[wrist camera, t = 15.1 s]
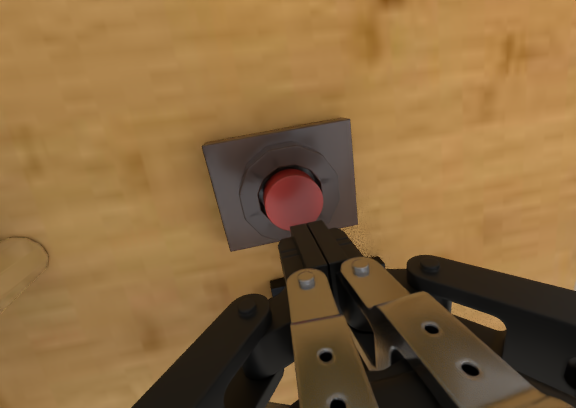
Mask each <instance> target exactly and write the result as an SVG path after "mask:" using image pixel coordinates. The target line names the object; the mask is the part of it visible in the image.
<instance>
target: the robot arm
mask: <svg viewBox="0 0 576 408" xmlns="http://www.w3.org/2000/svg"><path fill="white" fill-rule="evenodd" d="M290 232H291V237H289V238H284V239H281V240H280V242H279V245H278V249H279V254H280V259H281V264H282V269H283V274H284V278H285V282H286V286H285V288H284V289H283V290H282V291H281V292H280V293H279V294H278V295H276V296H274V297H273V298H271V299H269V300H268V299H267V298H266V297H265V296H263V295H260V294H248V295H244V296H242V297H239V298H238V299H236V300H234V301H233V302H232V303H231V304H230V305H229V306H228V307H227V308H226V309H225V310H224V311H223V312H222V313H221V314H220V315H219V317H218V318H217V319H216V320H215V321H214V322H213V323H212V324H211V325H210V326H209V327H208V328H207V329H206V330H205V331H204V332H203V333H202V334H201V335H200V336H199V337H198V338H197V340H196V341H195V342H194V343H193V344H192V345H191V346H190V347H189V348H188V349H187V350H186V351H185V352H184V353H183V354H182V355H181V356H180V357H179V358H178V359H177V360H176V362H175V363H174V364H173V365H172V366H171V367H170V368H169V369H168V370H167V371H166V372H165V373H164V374H163V375H162V376H161V377H160V378H159V379H158V380H157V381H156V382H155V383H154V385H153V386H152V387H151V388H150V389H149V390H148V391H147V392H146V393H145V394H144V395H143V396H142V397H141V398H140V399H139V400H138V401H137V402H136V403H135V404H134V405H133V406H132V408H265V407H266V405H267V403H268V402H269V400H270V398H271V396H272V395H273V393H274V391H275V389H276V387H277V386H278V384H279V382H280V380H281V378H282V376H283V373H284V368H285V367H287V366H288V365H290V364H291V363H293V362H295V371H296V379H297V388H298V397H299V399H298V400H297V401H296V402H294V403H293V404H292V405H291V406H290V407H289V408H576V291H573V290H569V289H565V288H561V287H557V286H553V285H549V284H545V283H541V282H537V281H533V280H529V279H525V278H521V277H517V276H513V275H509V274H505V273H501V272H497V271H493V270H489V269H485V268H481V267H477V266H473V265H469V264H465V263H461V262H457V261H453V260H449V259H445V258H441V257H437V256H432V255H419V256H415V257H412V258H411V259H409V260H408V262H407V269H385V268H384V267H383V266H382V265H381V264H380V263H379V262H377V261H376V260H374V259H372V258H368V257H364V256H363V255H362V254H361V253H360V251H359V250H358V249H357V248H356V246H355V245H354V244H353V243H352V241H351V240H350V239H349V238H348V236H347V235H346V234H345V232H344V231H342V230H340V229H338V228H336V227H335V228H330V229H328V228H327V226H326V225H325V223H324V222H323V220H318V221H313V222H308V223H304V224H299V225H294V226H290ZM452 302H455V303H458V304H460V305H463V306H466V307H469V308H472V309H475V310H478V311H481V312H484V313H487V314H490V315H493V316H495V317H497V318H498V319H500V320H501V321H502V322H503V323H504V324H505V326H506V329H507V330H505V331H497V330H494V329H491V328H488V327H486V326H483V325H480V324H478V323H475V322H472V321H469V320H467V319H464V318H461V317H458V316H456V315H453V314H451V305H452ZM357 350H358V351H357ZM358 352H359V353H360V355H361V357H362V359H363V360H364V362H365V364H366V366H367V368H368V369H369V371H365V369H364V367H363V364H362V361H361V359H360V356H359V353H358Z"/></svg>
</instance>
